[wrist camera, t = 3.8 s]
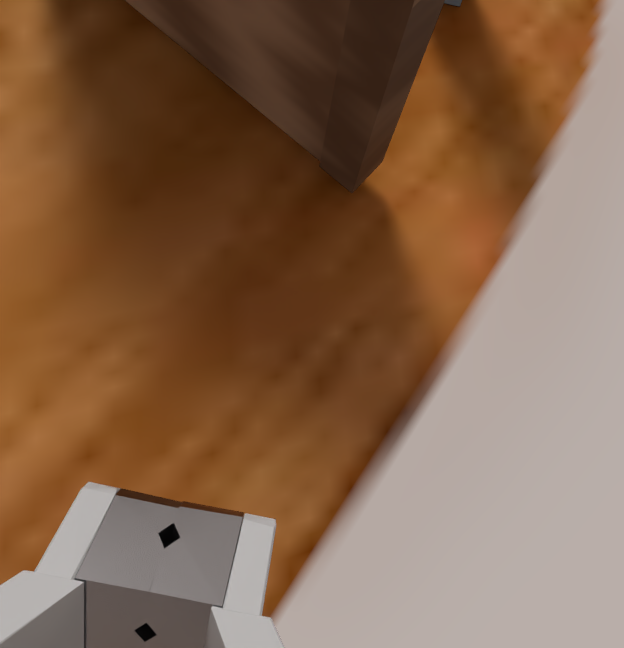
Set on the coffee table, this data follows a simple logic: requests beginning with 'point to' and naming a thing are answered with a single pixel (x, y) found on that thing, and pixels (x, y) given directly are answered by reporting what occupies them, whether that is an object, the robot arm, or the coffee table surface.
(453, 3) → the post
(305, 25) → the wooden gate panel
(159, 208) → the coffee table surface
